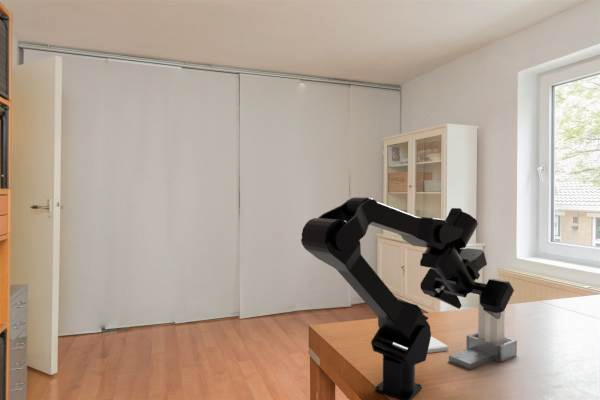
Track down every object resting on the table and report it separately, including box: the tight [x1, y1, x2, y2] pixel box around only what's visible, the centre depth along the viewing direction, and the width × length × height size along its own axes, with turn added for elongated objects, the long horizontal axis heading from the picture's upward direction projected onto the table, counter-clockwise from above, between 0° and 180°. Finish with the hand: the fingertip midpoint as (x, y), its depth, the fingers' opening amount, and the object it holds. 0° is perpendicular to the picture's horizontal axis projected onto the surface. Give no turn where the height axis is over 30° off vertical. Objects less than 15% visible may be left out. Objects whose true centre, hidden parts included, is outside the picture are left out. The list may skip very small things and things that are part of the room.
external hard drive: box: [393, 335, 449, 354], centre depth 93 cm, size 2×8×12 cm
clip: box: [477, 295, 506, 345], centre depth 90 cm, size 3×4×12 cm
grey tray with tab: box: [448, 331, 518, 370], centre depth 87 cm, size 16×8×3 cm, turn 124°
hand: (478, 312), depth 87 cm, fingers open, 9 cm apart
